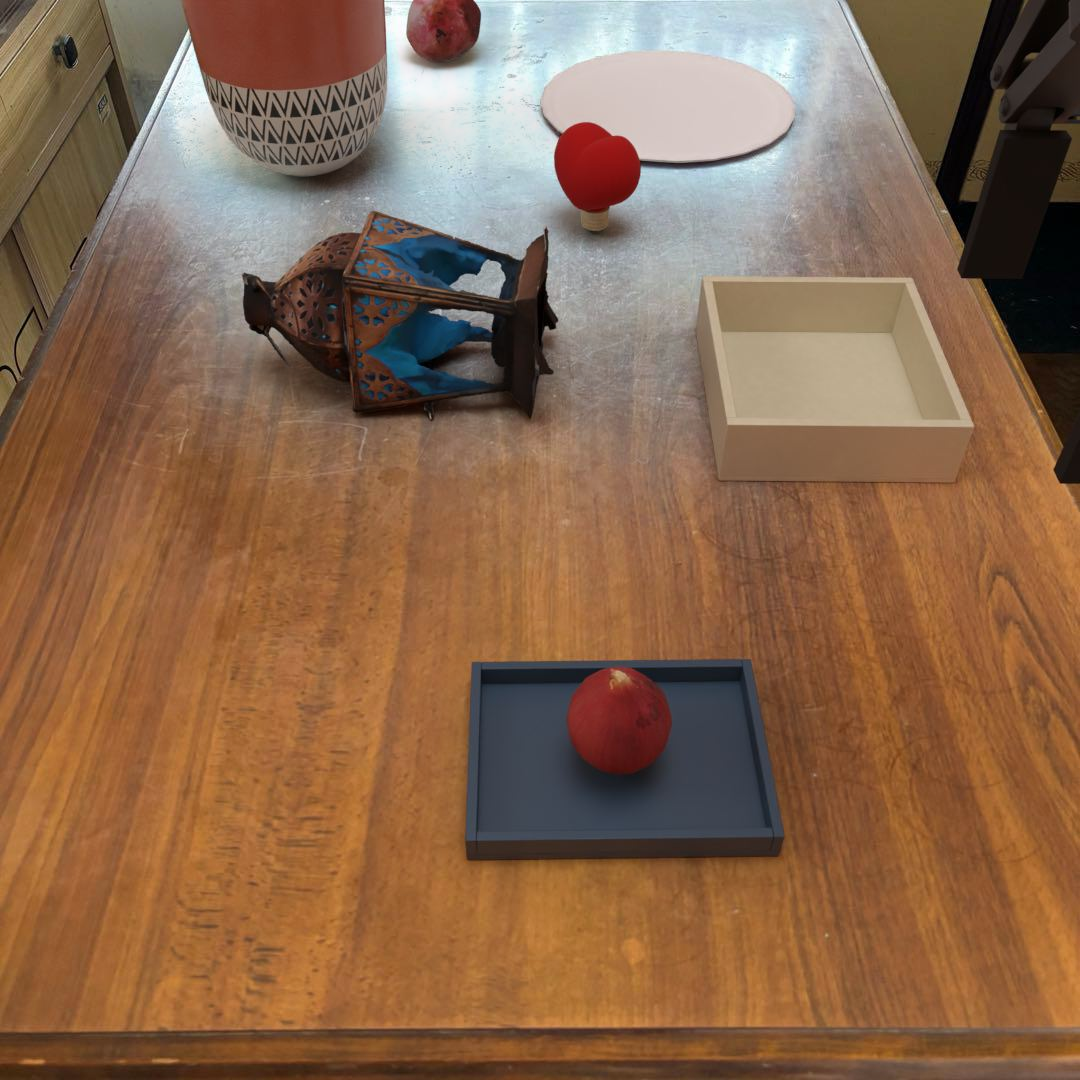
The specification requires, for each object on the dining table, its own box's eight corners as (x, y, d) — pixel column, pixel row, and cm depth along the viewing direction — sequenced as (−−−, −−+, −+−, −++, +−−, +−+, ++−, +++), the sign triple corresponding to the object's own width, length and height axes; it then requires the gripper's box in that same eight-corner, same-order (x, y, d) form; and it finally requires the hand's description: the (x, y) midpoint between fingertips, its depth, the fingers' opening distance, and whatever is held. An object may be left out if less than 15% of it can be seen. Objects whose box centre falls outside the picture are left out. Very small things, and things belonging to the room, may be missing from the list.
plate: (733, 194, 113) (735, 183, 112) (492, 130, 123) (492, 119, 123) (830, 90, 131) (832, 80, 130) (612, 42, 141) (612, 31, 140)
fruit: (494, 49, 140) (492, -36, 132) (460, 77, 133) (456, -10, 126) (431, 37, 142) (425, -46, 135) (394, 65, 136) (386, -22, 129)
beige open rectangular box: (954, 482, 82) (974, 426, 78) (718, 480, 82) (727, 424, 79) (897, 331, 96) (912, 277, 92) (695, 329, 96) (702, 275, 92)
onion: (652, 711, 67) (663, 625, 61) (676, 792, 63) (690, 709, 57) (557, 724, 66) (560, 639, 60) (576, 807, 62) (580, 725, 56)
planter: (180, 188, 114) (125, -34, 99) (277, 111, 127) (241, -96, 111) (348, 223, 109) (317, -6, 94) (431, 139, 122) (416, -74, 107)
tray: (746, 679, 69) (751, 658, 68) (779, 856, 61) (785, 836, 59) (473, 682, 69) (471, 661, 68) (466, 860, 61) (464, 840, 59)
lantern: (549, 431, 96) (263, 410, 96) (563, 243, 95) (273, 221, 95) (552, 427, 80) (207, 402, 80) (568, 199, 79) (218, 173, 78)
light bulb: (535, 225, 109) (535, 127, 102) (586, 201, 112) (589, 105, 105) (602, 262, 104) (607, 162, 97) (653, 236, 107) (661, 137, 100)
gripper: (1013, -348, 38) (879, 210, 53) (1400, -161, 21) (1038, 592, 36) (1229, -347, 38) (1034, 211, 53) (1800, -159, 21) (1269, 594, 36)
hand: (1035, 365), depth 45 cm, fingers open, 13 cm apart
